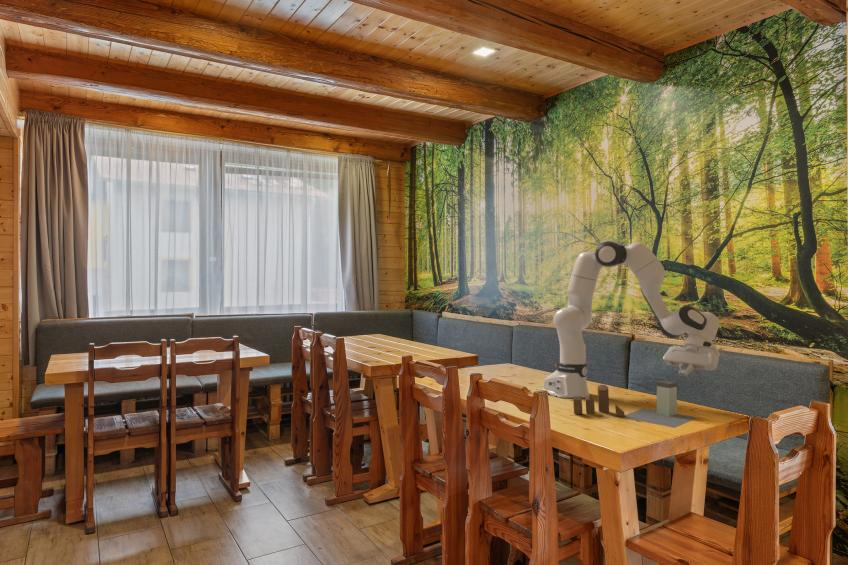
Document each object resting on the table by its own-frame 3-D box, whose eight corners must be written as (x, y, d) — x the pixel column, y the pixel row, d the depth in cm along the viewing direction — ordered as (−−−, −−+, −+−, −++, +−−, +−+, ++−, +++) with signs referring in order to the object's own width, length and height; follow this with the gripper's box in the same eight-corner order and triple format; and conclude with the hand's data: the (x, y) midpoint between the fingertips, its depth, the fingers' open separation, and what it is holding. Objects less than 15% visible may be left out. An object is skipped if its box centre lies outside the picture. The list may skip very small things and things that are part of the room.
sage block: (656, 413, 209) (656, 381, 208) (664, 411, 211) (664, 380, 211) (669, 416, 204) (669, 383, 204) (676, 414, 207) (676, 382, 207)
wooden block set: (574, 420, 208) (573, 397, 205) (573, 408, 216) (572, 385, 213) (625, 420, 204) (624, 396, 200) (622, 407, 212) (621, 384, 208)
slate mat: (619, 418, 204) (619, 416, 204) (644, 409, 217) (644, 408, 217) (674, 429, 189) (674, 427, 189) (697, 419, 203) (697, 417, 203)
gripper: (668, 339, 227) (654, 366, 221) (718, 344, 210) (705, 372, 204) (674, 349, 229) (660, 376, 224) (724, 355, 212) (711, 383, 207)
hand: (682, 374), depth 214 cm, fingers closed
